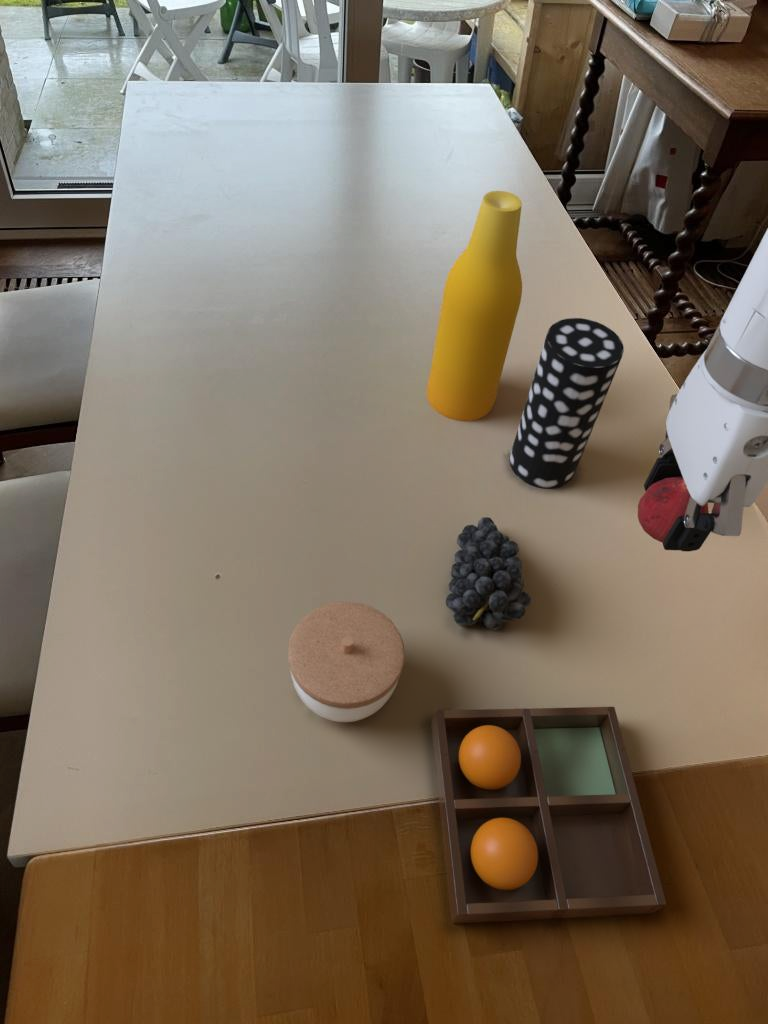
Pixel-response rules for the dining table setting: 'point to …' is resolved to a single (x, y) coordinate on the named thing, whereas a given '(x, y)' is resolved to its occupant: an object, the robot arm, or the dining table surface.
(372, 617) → the trinket box
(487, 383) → the beer bottle
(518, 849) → the clementine
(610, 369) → the white-spotted black cylinder
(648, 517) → the pomegranate
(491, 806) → the wooden compartment tray
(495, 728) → the clementine
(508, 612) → the fruit
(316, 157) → the dining table surface
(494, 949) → the dining table surface
